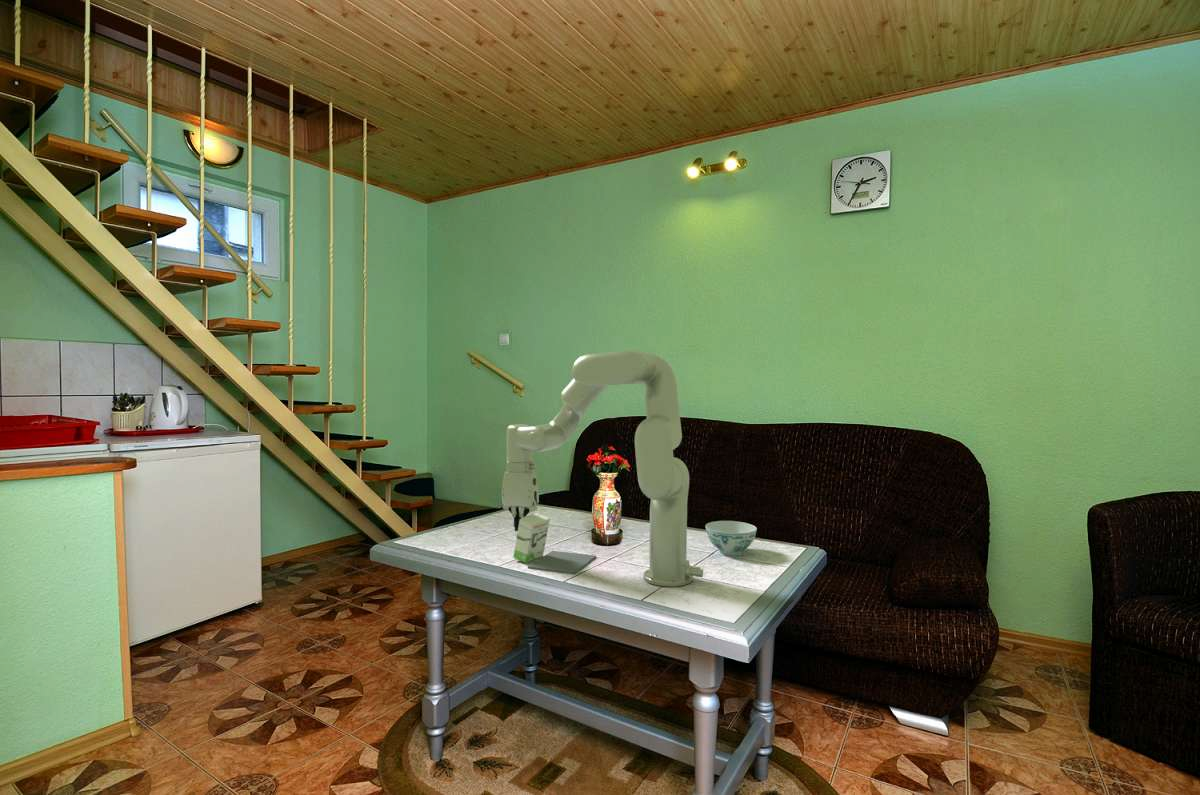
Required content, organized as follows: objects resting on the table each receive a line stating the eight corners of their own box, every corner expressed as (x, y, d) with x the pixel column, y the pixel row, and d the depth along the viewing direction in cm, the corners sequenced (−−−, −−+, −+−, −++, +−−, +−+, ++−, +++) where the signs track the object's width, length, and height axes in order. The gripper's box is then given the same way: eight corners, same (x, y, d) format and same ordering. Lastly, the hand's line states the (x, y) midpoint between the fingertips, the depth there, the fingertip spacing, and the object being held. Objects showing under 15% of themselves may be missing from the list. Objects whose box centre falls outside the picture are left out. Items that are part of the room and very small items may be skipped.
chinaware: (711, 560, 168) (711, 533, 168) (700, 545, 183) (700, 521, 183) (763, 559, 168) (763, 533, 168) (748, 545, 183) (748, 520, 183)
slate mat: (596, 557, 170) (596, 555, 170) (574, 574, 155) (574, 572, 155) (552, 552, 175) (552, 550, 175) (527, 568, 160) (527, 566, 160)
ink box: (525, 563, 164) (532, 524, 163) (512, 557, 167) (519, 518, 165) (543, 556, 172) (550, 518, 170) (530, 550, 174) (537, 512, 172)
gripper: (548, 466, 170) (548, 529, 171) (503, 464, 175) (503, 525, 176) (537, 470, 163) (537, 535, 164) (490, 467, 168) (490, 531, 169)
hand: (519, 530), depth 170 cm, fingers closed
